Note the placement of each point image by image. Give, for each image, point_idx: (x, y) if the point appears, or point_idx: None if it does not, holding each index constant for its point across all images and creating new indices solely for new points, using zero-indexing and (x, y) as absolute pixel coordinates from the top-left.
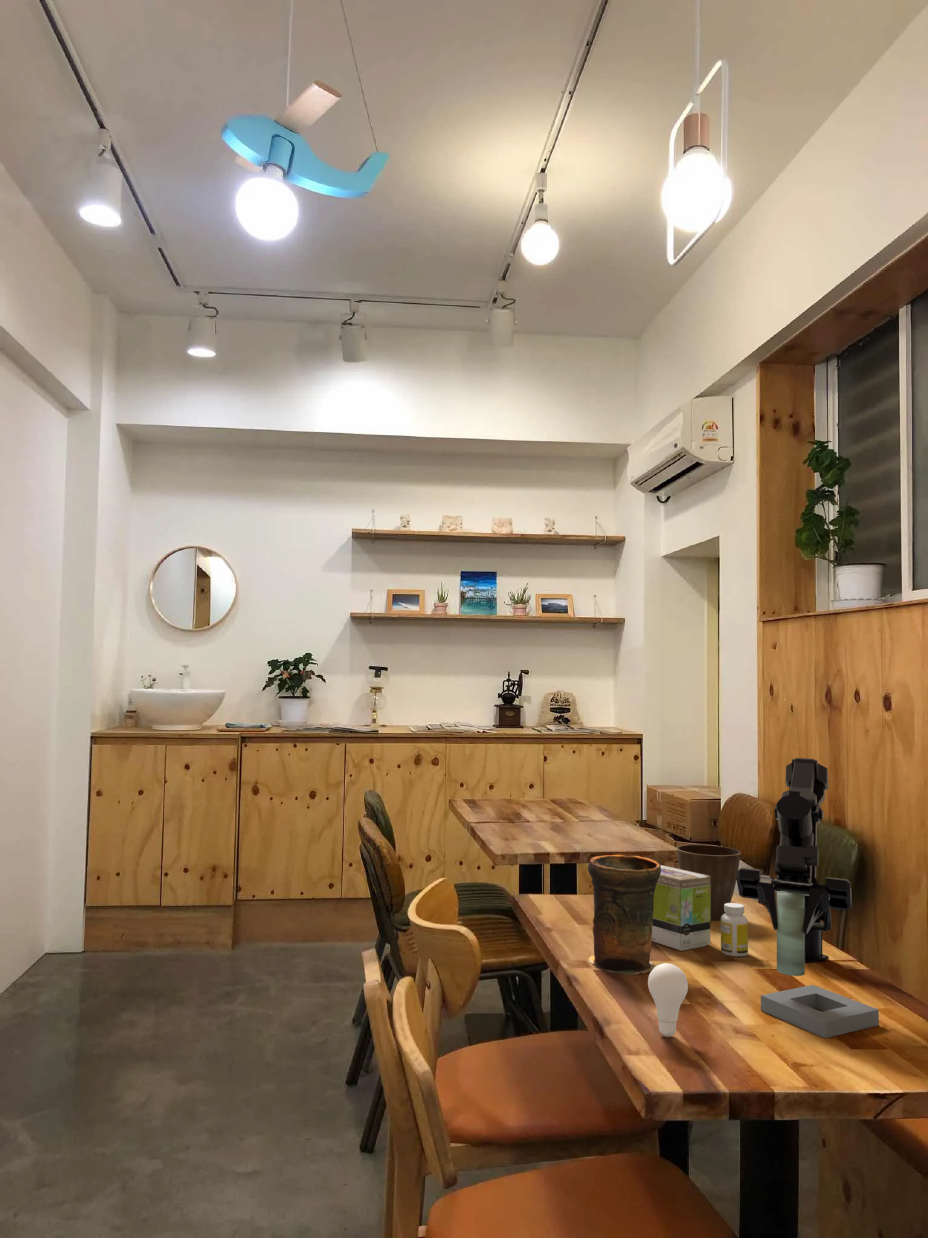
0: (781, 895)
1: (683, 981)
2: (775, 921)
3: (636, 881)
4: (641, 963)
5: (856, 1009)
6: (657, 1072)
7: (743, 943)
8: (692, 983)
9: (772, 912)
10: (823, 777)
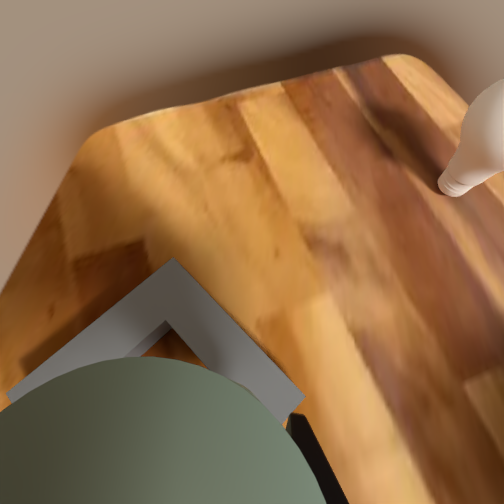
0: (275, 422)
1: (485, 91)
2: (297, 437)
3: None
4: None
5: (69, 370)
6: (421, 87)
7: None
8: None
9: (332, 502)
10: None
